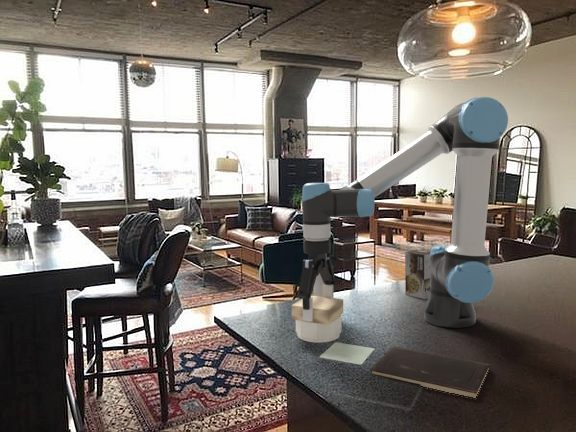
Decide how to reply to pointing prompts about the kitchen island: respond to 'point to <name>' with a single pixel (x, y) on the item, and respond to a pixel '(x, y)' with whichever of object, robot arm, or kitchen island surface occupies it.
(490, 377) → the kitchen island surface
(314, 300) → the tan box
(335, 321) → the bowl
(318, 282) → the travel mug
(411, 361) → the hardcover book
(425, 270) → the coffee box
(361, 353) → the mat
